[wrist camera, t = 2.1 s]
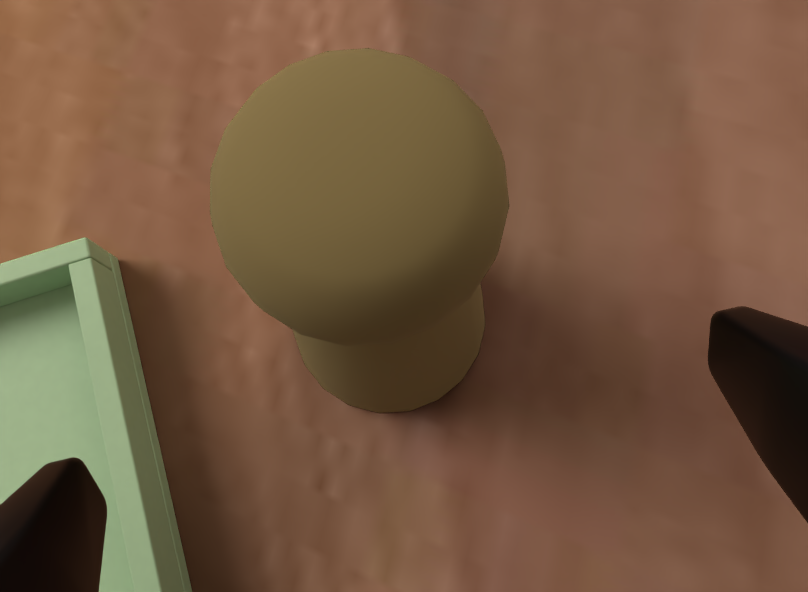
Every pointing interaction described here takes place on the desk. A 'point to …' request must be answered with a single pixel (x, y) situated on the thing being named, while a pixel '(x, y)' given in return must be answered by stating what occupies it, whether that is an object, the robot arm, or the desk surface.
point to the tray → (86, 405)
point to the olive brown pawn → (365, 221)
